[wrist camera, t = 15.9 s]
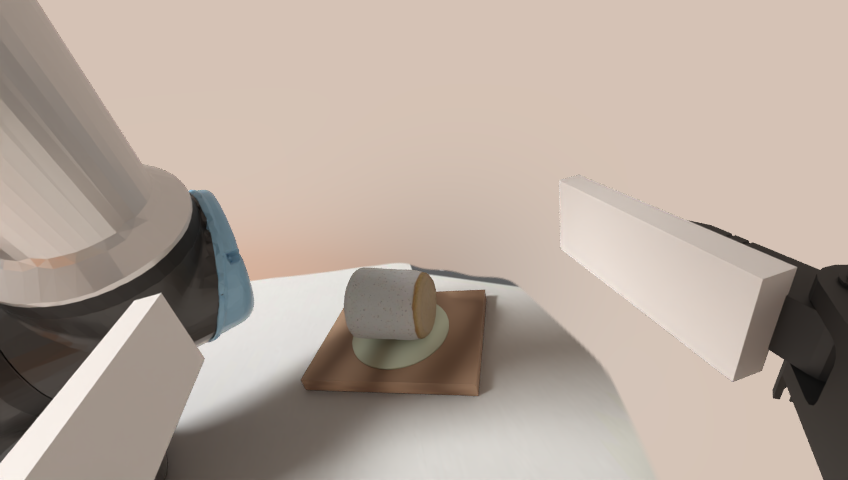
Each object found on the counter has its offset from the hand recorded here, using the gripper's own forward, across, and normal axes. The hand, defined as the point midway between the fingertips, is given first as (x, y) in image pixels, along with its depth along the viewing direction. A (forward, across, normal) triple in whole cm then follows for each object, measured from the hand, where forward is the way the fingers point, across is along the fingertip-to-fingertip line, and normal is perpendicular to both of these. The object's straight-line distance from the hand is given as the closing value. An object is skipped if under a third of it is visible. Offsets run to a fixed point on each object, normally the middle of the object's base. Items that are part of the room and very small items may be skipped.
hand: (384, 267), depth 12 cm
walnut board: (+22, 0, -23) cm, 31 cm away
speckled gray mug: (+23, 0, -21) cm, 31 cm away
